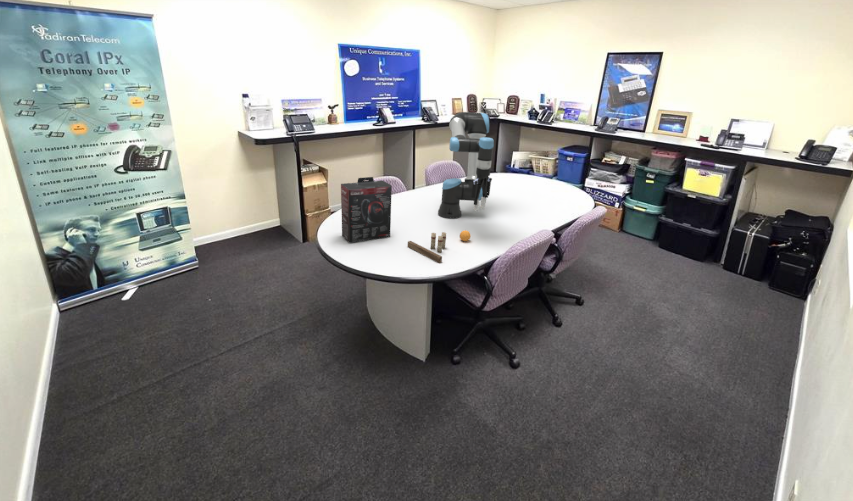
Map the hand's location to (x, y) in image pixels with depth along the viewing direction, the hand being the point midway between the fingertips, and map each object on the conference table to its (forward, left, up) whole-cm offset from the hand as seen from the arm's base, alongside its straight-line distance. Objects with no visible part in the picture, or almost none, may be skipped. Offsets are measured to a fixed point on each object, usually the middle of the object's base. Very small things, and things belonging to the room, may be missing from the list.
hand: (479, 209), depth 229 cm
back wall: (+40, 0, -17) cm, 43 cm away
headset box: (+50, -36, -17) cm, 64 cm away
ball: (+9, 0, -14) cm, 17 cm away
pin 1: (+31, -3, -17) cm, 36 cm away
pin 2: (+31, +2, -17) cm, 36 cm away
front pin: (+26, 0, -17) cm, 31 cm away
